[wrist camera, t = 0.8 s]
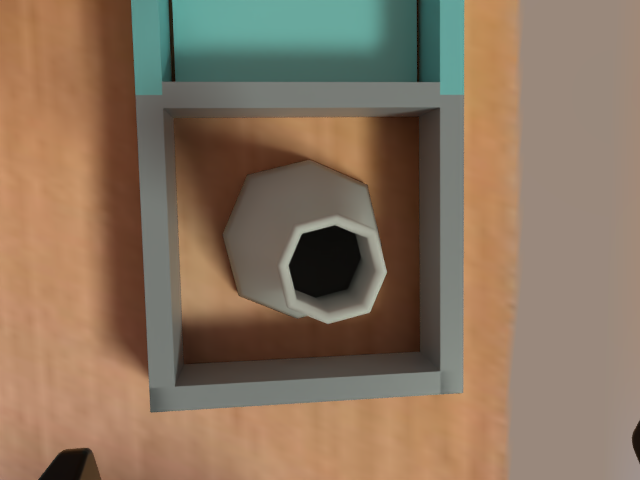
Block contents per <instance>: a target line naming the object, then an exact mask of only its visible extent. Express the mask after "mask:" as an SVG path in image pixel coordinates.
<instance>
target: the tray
mask: <svg viewBox="0 0 640 480" xmlns="http://www.w3.org/2000/svg"><path fill="white" fill-rule="evenodd" d="M172 8H173V32H174V56H175V81H176V82H172V70H171V46H170V22H169V0H131V10H132V32H133V53H134V74H135V95H136V116H137V137H138V158H139V179H140V201H141V222H142V243H143V264H144V285H145V306H146V327H147V349H148V370H149V391H150V412H165V411H181V410H197V409H213V408H229V407H245V406H261V405H277V404H293V403H309V402H325V401H341V400H357V399H373V398H389V397H405V396H421V395H437V394H453V393H463V258H464V0H418V11H419V82H417V0H172ZM257 117H419V243H420V352H404V353H385V354H366V355H348V356H329V357H310V358H292V359H273V360H254V361H235V362H217V363H198V364H184V358H183V334H182V310H181V286H180V262H179V238H178V214H177V190H176V166H175V142H174V118H257Z"/></svg>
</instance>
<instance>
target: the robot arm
mask: <svg viewBox="0 0 640 480" xmlns="http://www.w3.org/2000/svg"><path fill="white" fill-rule="evenodd" d="M632 443H633V448H634V451H635V453H636V456H637V458H638V460H639V463H640V421H639V422H638V424H637V426H636V428H635V430H634V432H633V435H632ZM38 480H101V477H100V474H99V471H98V467H97V464H96V461H95V458H94V455H93V452H92V450H90V449H89V448H77V449H66V450H63V451H62V452H60V453H59V454H58V455H57V456H56V458H55V459H54V460H53V461H52V463H51V464H50V465H49V467H48V468H47V469H46V470H45V472H44V473H43V474H42V476H41V477H40V478H39V479H38Z"/></svg>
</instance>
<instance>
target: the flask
mask: <svg viewBox="0 0 640 480" xmlns="http://www.w3.org/2000/svg"><path fill="white" fill-rule="evenodd" d="M223 238H224V242H225V246H226V249H227V253H228V257H229V261H230V264H231V268H232V272H233V276H234V279H235V283H236V287H237V291H238V294H239V296H241V297H243V298H246V299H248V300H251V301H253V302H256V303H258V304H261V305H264V306H266V307H269V308H271V309H274V310H276V311H279V312H281V313H284V314H286V315H289V316H292V317H294V318H297V319H298V318H302V317H306V316H309V317H311V318H314V319H317V320H319V321H322V322H324V323H327V324H330V323H333V322H337V321H341V320H344V319H348V318H352V317H355V316H359V315H363V314H366V313H370V311H371V309H372V306H373V304H374V302H375V299H376V297H377V295H378V292H379V290H380V288H381V285H382V283H383V281H384V278H385V276H386V274H387V270H386V266H385V262H384V258H383V253H382V249H381V246H382V245H381V241H380V236H379V232H378V228H377V223H376V219H375V215H374V211H373V206H372V202H371V198H370V194H369V189H368V185H367V184H364V183H362V182H360V181H358V180H355V179H353V178H351V177H348V176H346V175H344V174H342V173H339V172H337V171H335V170H332V169H330V168H328V167H325V166H323V165H321V164H319V163H316V162H314V161H312V160H306V161H302V162H298V163H294V164H290V165H286V166H281V167H277V168H273V169H269V170H265V171H261V172H257V173H253V174H249V175H247V177H246V179H245V181H244V184H243V186H242V189H241V191H240V193H239V196H238V198H237V201H236V203H235V205H234V208H233V210H232V213H231V215H230V218H229V220H228V222H227V225H226V227H225V230H224V232H223Z"/></svg>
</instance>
